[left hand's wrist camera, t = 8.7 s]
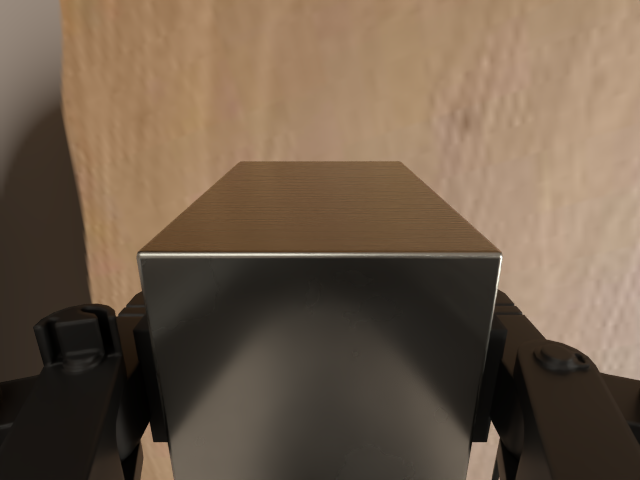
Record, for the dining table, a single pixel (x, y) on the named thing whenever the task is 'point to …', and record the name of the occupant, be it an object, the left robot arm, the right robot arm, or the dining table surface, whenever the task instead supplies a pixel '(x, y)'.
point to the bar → (319, 325)
